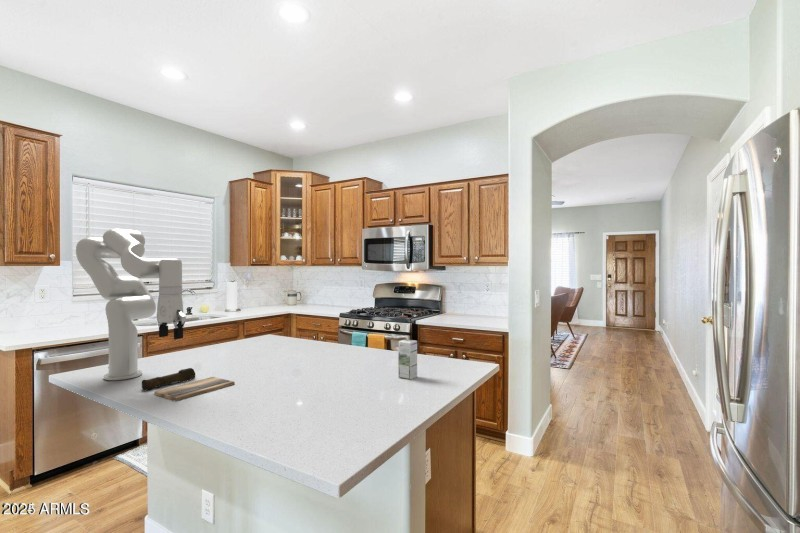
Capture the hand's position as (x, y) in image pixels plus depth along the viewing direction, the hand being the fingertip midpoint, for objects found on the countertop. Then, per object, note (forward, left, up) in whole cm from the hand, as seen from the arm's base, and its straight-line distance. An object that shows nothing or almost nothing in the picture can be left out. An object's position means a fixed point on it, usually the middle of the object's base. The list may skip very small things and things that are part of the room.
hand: (170, 337), depth 152 cm
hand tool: (-1, 0, -18) cm, 18 cm away
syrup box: (+71, +54, -17) cm, 91 cm away
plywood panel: (+14, +1, -17) cm, 22 cm away
